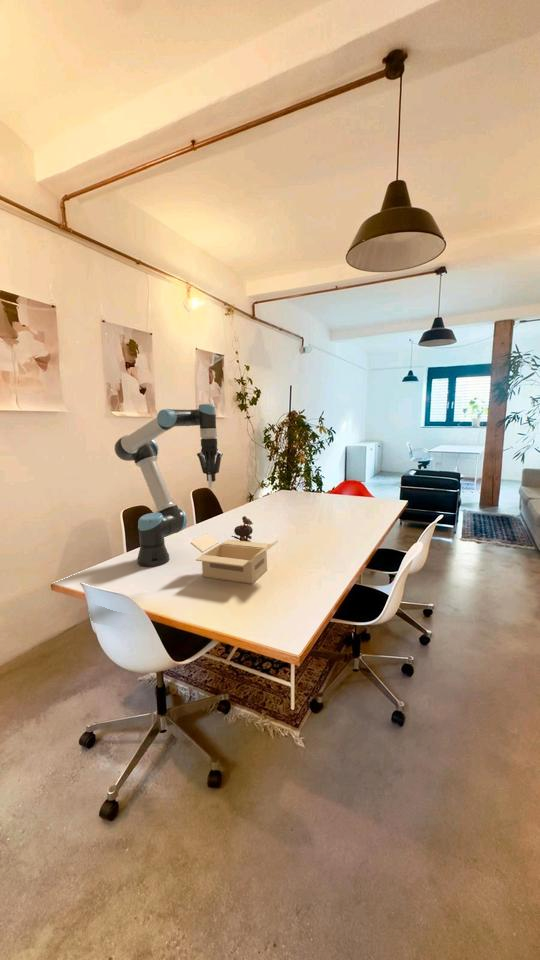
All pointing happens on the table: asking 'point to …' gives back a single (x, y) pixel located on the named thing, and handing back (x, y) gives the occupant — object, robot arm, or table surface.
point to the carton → (235, 561)
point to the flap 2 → (265, 549)
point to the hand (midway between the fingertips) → (211, 488)
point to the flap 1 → (204, 543)
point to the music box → (244, 530)
